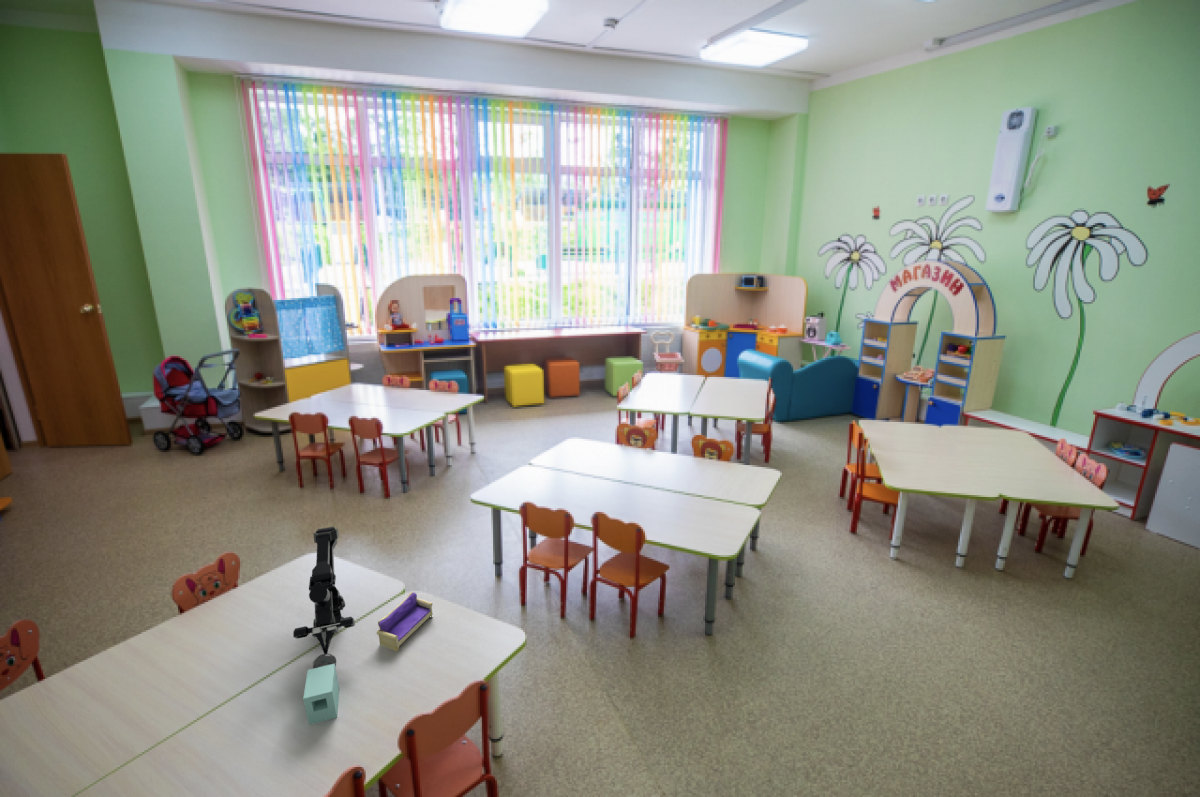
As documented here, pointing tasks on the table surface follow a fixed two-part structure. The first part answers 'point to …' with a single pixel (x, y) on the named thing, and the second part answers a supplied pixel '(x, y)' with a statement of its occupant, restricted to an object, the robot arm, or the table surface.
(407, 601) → the toy sofa
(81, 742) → the table surface
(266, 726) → the table surface
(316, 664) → the plunger
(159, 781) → the table surface
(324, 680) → the block
